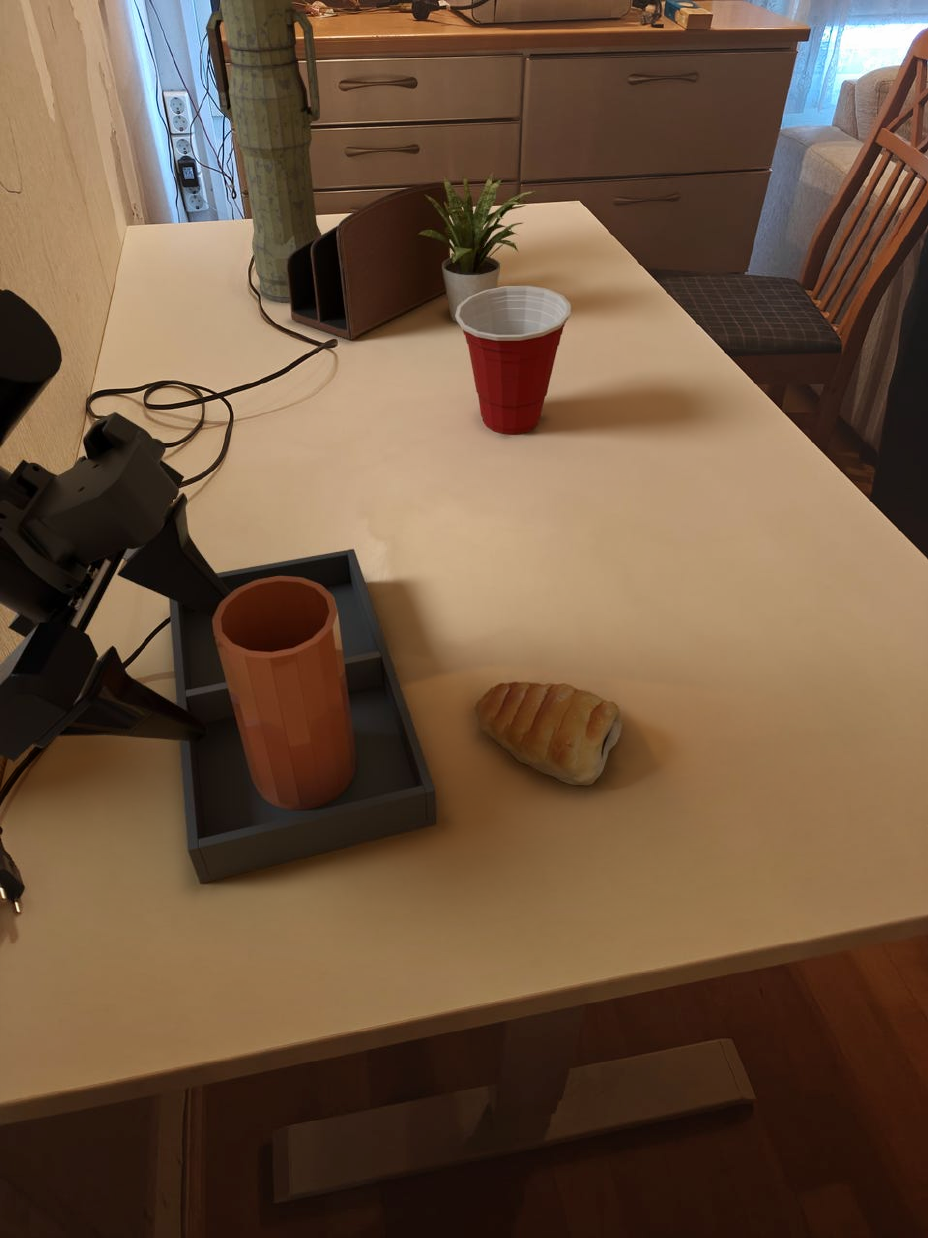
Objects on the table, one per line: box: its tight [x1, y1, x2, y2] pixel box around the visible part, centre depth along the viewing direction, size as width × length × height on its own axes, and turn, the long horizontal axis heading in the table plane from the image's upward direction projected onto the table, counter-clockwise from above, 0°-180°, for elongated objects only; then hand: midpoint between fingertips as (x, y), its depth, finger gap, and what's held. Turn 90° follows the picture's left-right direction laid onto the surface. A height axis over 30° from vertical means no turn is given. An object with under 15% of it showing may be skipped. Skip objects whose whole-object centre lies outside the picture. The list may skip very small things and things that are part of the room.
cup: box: [212, 576, 356, 810], centre depth 51 cm, size 6×6×13 cm
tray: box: [168, 548, 438, 884], centre depth 58 cm, size 14×24×3 cm, turn 17°
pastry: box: [474, 681, 623, 786], centre depth 56 cm, size 9×7×4 cm
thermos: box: [205, 0, 322, 304], centre depth 103 cm, size 9×12×35 cm
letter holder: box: [286, 181, 451, 341], centre depth 106 cm, size 10×20×14 cm, turn 144°
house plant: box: [419, 171, 539, 323], centre depth 102 cm, size 14×14×16 cm
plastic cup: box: [455, 285, 572, 435], centre depth 85 cm, size 11×11×12 cm
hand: (223, 673), depth 49 cm, fingers open, 9 cm apart
